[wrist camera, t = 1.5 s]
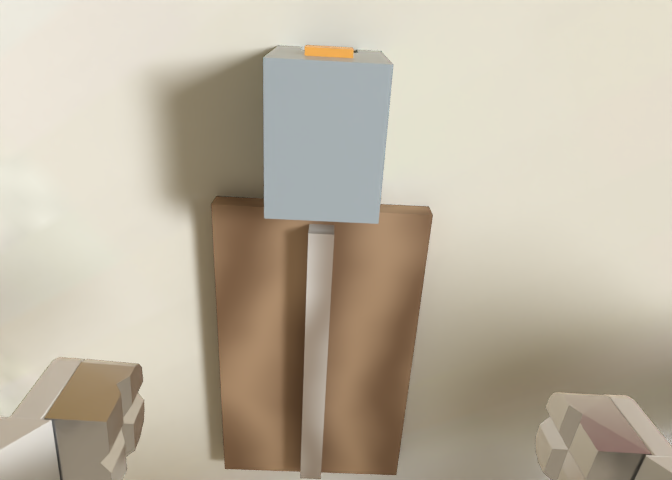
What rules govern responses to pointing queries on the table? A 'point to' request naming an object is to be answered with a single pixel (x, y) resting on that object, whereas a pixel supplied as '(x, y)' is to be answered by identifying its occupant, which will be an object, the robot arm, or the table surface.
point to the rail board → (280, 335)
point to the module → (325, 133)
